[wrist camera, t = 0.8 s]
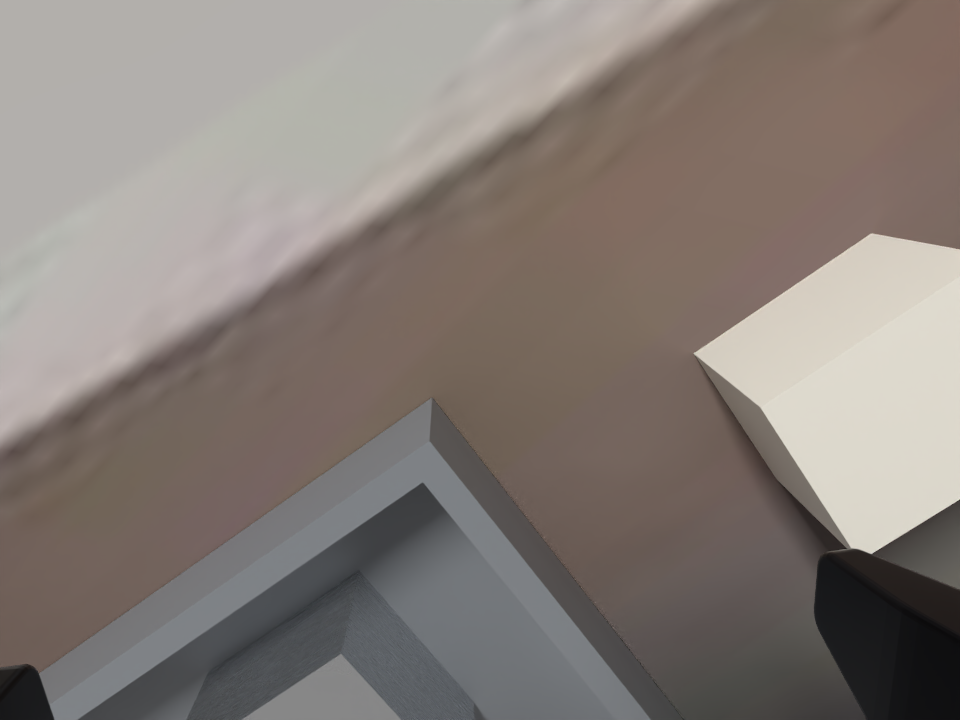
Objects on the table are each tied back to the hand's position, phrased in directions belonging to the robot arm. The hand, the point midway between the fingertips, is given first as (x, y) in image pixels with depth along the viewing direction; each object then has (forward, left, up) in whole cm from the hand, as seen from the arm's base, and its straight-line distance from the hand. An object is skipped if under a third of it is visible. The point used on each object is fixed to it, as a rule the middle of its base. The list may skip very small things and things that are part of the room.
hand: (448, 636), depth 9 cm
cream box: (-7, -9, -14) cm, 18 cm away
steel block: (-7, +9, -13) cm, 17 cm away
